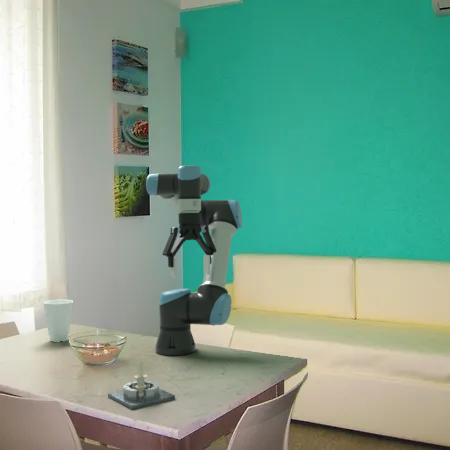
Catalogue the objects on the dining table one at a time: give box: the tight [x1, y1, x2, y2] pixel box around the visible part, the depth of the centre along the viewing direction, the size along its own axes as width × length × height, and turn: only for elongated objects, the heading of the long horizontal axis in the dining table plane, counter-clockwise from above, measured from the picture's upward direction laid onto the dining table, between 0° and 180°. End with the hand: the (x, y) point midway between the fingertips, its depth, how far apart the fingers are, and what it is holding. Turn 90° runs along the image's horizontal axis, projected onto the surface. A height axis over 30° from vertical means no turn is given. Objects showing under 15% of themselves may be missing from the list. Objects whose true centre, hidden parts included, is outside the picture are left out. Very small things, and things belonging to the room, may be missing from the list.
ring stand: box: [107, 380, 176, 410], centre depth 173 cm, size 14×14×4 cm
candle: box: [133, 359, 148, 397], centre depth 172 cm, size 5×5×10 cm
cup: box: [43, 299, 74, 343], centre depth 247 cm, size 12×12×16 cm
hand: (190, 275), depth 201 cm, fingers open, 13 cm apart
